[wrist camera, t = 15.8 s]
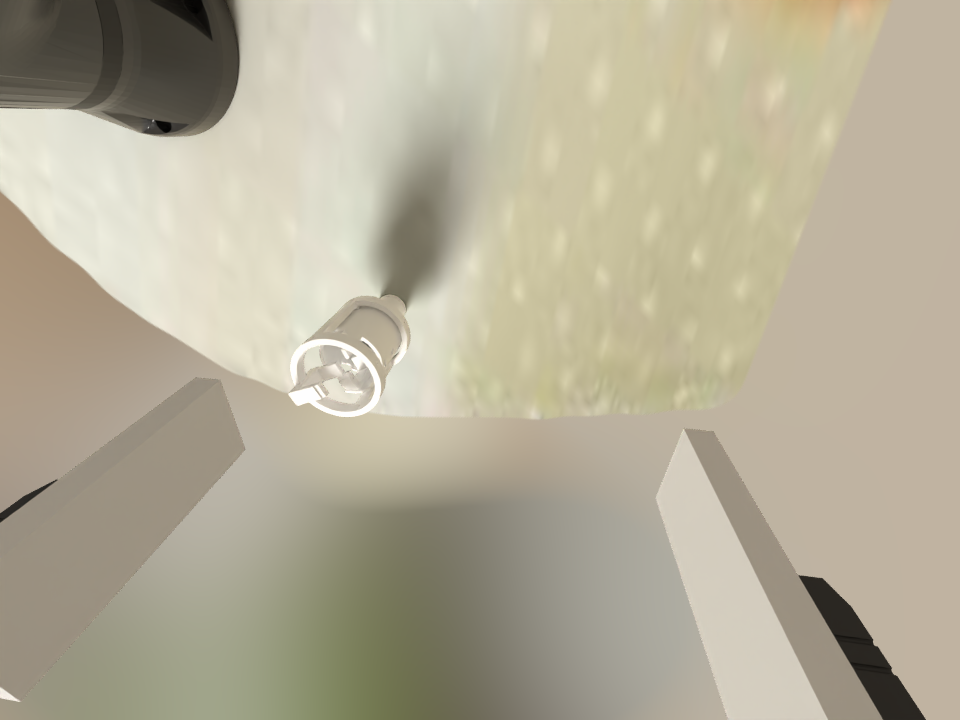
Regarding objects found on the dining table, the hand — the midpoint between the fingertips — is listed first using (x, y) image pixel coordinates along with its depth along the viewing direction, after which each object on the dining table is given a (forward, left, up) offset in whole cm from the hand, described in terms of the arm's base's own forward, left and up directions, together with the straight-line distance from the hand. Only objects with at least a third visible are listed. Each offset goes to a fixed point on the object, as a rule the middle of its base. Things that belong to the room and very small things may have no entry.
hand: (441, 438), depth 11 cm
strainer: (-4, -14, -29) cm, 32 cm away
